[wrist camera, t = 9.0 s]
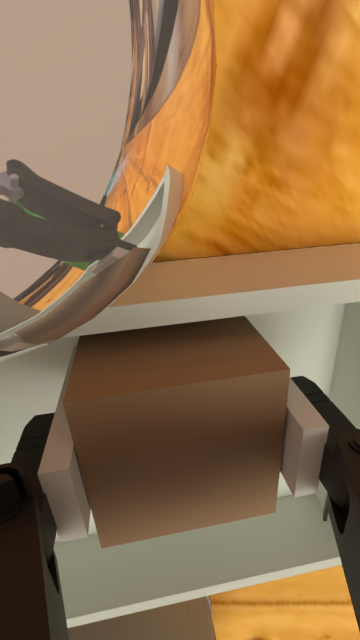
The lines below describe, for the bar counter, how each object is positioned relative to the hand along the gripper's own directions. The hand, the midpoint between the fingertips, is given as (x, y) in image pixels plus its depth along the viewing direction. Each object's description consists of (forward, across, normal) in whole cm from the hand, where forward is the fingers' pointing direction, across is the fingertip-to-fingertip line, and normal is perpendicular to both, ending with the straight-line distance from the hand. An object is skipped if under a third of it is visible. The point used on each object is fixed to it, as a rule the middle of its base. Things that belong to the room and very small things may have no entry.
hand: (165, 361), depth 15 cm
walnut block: (0, 0, 0) cm, 0 cm away
